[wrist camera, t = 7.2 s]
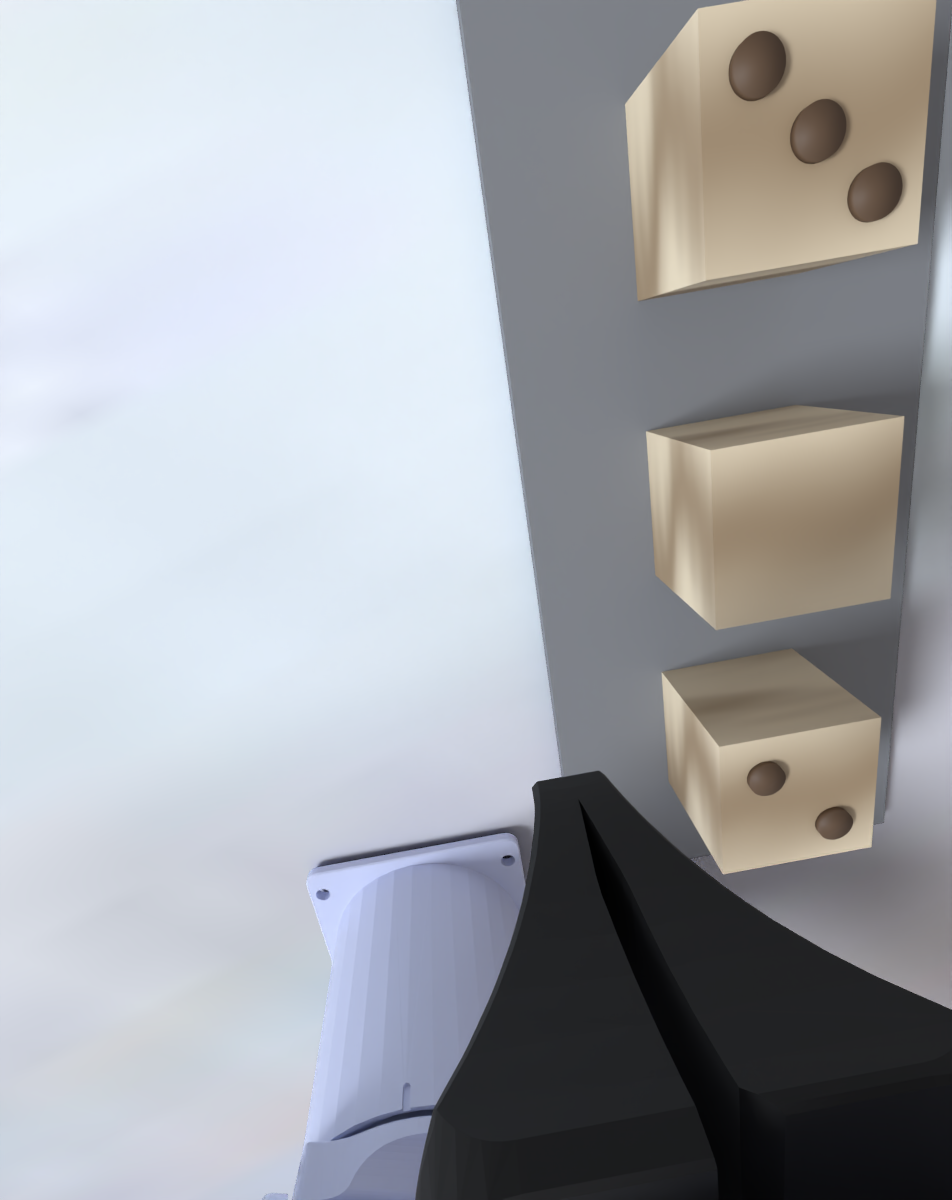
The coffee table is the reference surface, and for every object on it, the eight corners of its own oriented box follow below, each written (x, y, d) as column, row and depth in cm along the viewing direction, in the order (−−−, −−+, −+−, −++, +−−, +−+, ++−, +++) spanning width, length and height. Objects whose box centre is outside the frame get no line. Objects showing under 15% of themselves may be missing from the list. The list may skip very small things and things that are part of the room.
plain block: (793, 550, 20) (890, 598, 16) (655, 574, 20) (715, 629, 16) (796, 404, 19) (904, 416, 14) (645, 431, 19) (710, 450, 14)
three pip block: (798, 273, 17) (924, 241, 13) (637, 301, 17) (709, 279, 13) (802, 74, 16) (947, -39, 11) (625, 104, 16) (702, 2, 11)
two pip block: (790, 759, 23) (875, 851, 19) (668, 781, 23) (725, 879, 19) (791, 648, 21) (886, 721, 17) (661, 671, 21) (722, 751, 17)
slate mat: (873, 812, 25) (883, 822, 24) (574, 867, 25) (577, 879, 24) (945, -133, 15) (965, -151, 15) (449, -51, 15) (449, -67, 14)
